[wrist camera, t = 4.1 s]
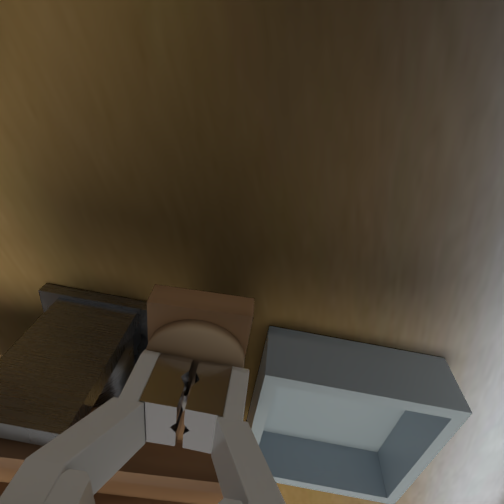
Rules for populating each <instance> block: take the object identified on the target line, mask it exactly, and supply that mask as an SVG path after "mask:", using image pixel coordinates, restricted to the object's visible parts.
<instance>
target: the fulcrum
mask: <svg viewBox="0 0 504 504" xmlns="http://www.w3.org/2000/svg"><path fill="white" fill-rule="evenodd" d="M38 291H39V295H40V299H41V303H42V307H43V311H44V313H43V314H42V315H41V316H40V317H39V319H38V320H37V321H36V322H35V323H34V324H33V325H32V326H31V327H30V328H29V329H28V330H27V331H26V332H25V333H24V334H23V335H22V336H21V337H20V338H19V339H18V341H17V342H16V343H15V344H14V345H13V346H12V347H11V348H10V349H9V350H8V351H7V352H6V353H5V354H4V355H3V356H2V357H1V358H0V438H4V439H9V440H15V441H20V442H25V443H31V444H36V445H41V446H44V445H45V444H47V443H48V442H50V441H51V440H53V439H54V438H55V437H57V436H58V435H60V434H61V433H63V432H64V431H65V430H67V429H68V428H70V427H71V426H73V425H74V424H75V423H77V422H78V421H80V420H81V419H83V418H84V417H85V416H87V415H88V414H89V413H90V411H91V409H92V407H100V406H101V405H103V404H104V403H105V402H107V401H108V400H110V399H111V398H113V397H117V398H119V396H120V394H121V392H122V390H123V388H124V386H125V384H126V382H127V380H128V378H129V376H130V374H131V372H132V370H133V368H134V366H135V364H136V362H137V361H138V359H139V357H140V355H141V353H142V352H143V351H144V350H146V348H147V345H148V327H147V302H145V301H140V300H134V299H129V298H123V297H118V296H113V295H107V294H102V293H96V292H91V291H85V290H80V289H74V288H69V287H64V286H58V285H53V284H47V283H46V284H45V285H44V286H43V287H42V288H41V289H40V290H38Z"/></svg>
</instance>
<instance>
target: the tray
mask: <svg viewBox="0 0 504 504" xmlns="http://www.w3.org/2000/svg"><path fill="white" fill-rule="evenodd" d="M471 414H472V412H471V410H470V408H469V406H468V404H467V402H466V400H465V398H464V396H463V394H462V392H461V390H460V388H459V386H458V384H457V382H456V380H455V378H454V376H453V374H452V372H451V370H450V368H449V366H448V364H447V362H446V360H445V358H442V357H436V356H431V355H426V354H420V353H415V352H409V351H404V350H398V349H393V348H387V347H382V346H377V345H371V344H366V343H360V342H355V341H349V340H344V339H339V338H333V337H328V336H322V335H317V334H311V333H306V332H300V331H295V330H290V329H284V328H279V327H273V326H269V329H268V333H267V337H266V342H265V346H264V350H263V354H262V358H261V362H260V366H259V371H258V375H257V379H256V383H255V387H254V391H253V396H252V400H251V404H250V408H249V412H248V416H247V420H246V422H248V423H249V425H250V427H251V430H252V432H253V434H254V436H255V438H256V440H257V443H258V445H259V447H260V449H261V451H262V454H263V456H264V458H265V460H266V462H267V464H268V467H269V469H270V471H271V473H272V475H273V477H274V480H275V482H276V483H281V484H286V485H292V486H297V487H302V488H308V489H313V490H318V491H323V492H329V493H334V494H339V495H345V496H350V497H355V498H361V499H366V500H371V501H376V502H382V503H387V504H395V503H396V502H397V501H398V499H399V498H400V497H401V496H402V495H403V494H404V492H405V491H406V490H407V489H408V488H409V487H410V485H411V484H412V483H413V482H414V481H415V480H416V478H417V477H418V476H419V475H420V474H421V473H422V471H423V470H424V469H425V468H426V467H427V466H428V464H429V463H430V462H431V461H432V460H433V459H434V457H435V456H436V455H437V454H438V453H439V452H440V450H441V449H442V448H443V447H444V446H445V445H446V443H447V442H448V441H449V440H450V439H451V438H452V436H453V435H454V434H455V433H456V432H457V431H458V429H459V428H460V427H461V426H462V425H463V424H464V422H465V421H466V420H467V419H468V418H469V417H470V415H471Z"/></svg>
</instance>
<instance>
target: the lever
mask: <svg viewBox="0 0 504 504" xmlns="http://www.w3.org/2000/svg"><path fill="white" fill-rule="evenodd" d="M253 314H254V298H248V297H241V296H234V295H227V294H219V293H212V292H205V291H198V290H191V289H184V288H177V287H170V286H163V285H156V284H155V286H154V288H153V290H152V292H151V294H150V296H149V298H148V300H147V327H148V345H147V348H146V350H149V351H154V352H159V353H164V354H169V355H174V356H178V357H183V358H188V359H192V360H194V368H193V372H192V377H193V382H192V386H193V385H194V384H195V378H196V371H197V368H198V364H199V362H200V360H202V361H208V362H213V363H219V364H225V365H231V366H232V367H233V366H234V367H240V368H244V361H245V356H246V351H247V346H248V341H249V336H250V331H251V326H252V321H253ZM231 372H232V371H231ZM97 408H98V407H92V409H91V411H90V413H91V412H93V411H94V410H95V409H97ZM90 413H89V414H90ZM184 416H185V411H183V417H182V425H181V428H180V432H179V435H178V438H177V441H176V445H175V446H170V445H164V444H158V443H151V442H145V444H144V445H143V446H142V447H141V448H140V449H139V450H138V451H137V452H136V453H135V454H134V455H133V456H132V457H131V458H130V459H129V460H128V461H127V462H126V463H125V464H124V465H123V466H122V467H121V468H120V469H119V470H118V471H117V472H116V473H115V474H114V475H113V476H112V477H111V478H110V479H109V480H108V481H107V482H106V483H105V484H104V485H103V486H102V487H101V488H100V489H99V490H98V491H97V492H96V493H95V494H94V500H95V504H218V503H219V502H220V501H221V500H222V499H223V495H222V492H221V488H220V485H219V481H218V478H217V474H216V471H215V468H214V464H213V461H212V457H211V454H209V453H205V452H200V451H195V450H191V449H186V448H182V447H183V433H184V429H185V425H184ZM41 447H43V446H41V445H36V444H31V443H25V442H20V441H15V440H9V439H4V438H0V496H1V495H2V493H3V492H4V490H5V489H6V487H7V486H8V484H9V483H10V481H11V480H12V479H13V477H14V476H15V474H16V473H17V471H18V470H19V468H20V467H21V465H22V464H23V462H24V461H25V459H26V458H27V457H28V456H30V455H31V454H33V453H34V452H35V451H37V450H38V449H40V448H41Z"/></svg>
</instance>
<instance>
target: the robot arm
mask: <svg viewBox="0 0 504 504" xmlns="http://www.w3.org/2000/svg"><path fill="white" fill-rule="evenodd" d="M193 368H194V360H192V359H188V358H183V357H178V356H174V355H169V354H164V353H159V352H154V351H149V350H144V351H143V352H142V353H141V355H140V357H139V359H138V361H137V362H136V364H135V366H134V368H133V370H132V372H131V374H130V376H129V378H128V380H127V382H126V384H125V386H124V388H123V390H122V392H121V394H120V396H119V398H117V397H113V398H111V399H110V400H108V401H107V402H105V403H104V404H103V405H101V406H100V407H98V408H97V409H95V410H94V411H93V412H91V413H90V414H88V415H87V416H85V417H84V418H83V419H81V420H80V421H78V422H77V423H75V424H74V425H73V426H71V427H70V428H68V429H67V430H65V431H64V432H63V433H61V434H60V435H58V436H57V437H55V438H54V439H53V440H51V441H50V442H48V443H47V444H45V445H44V446H43V447H41V448H40V449H38V450H37V451H35V452H34V453H33V454H31V455H30V456H28V457H27V458H26V459H25V461H24V462H23V464H22V465H21V467H20V468H19V470H18V471H17V473H16V474H15V476H14V477H13V479H12V480H11V481H10V483H9V484H8V486H7V487H6V489H5V490H4V492H3V493H2V495H1V496H0V504H95V500H94V494H95V493H96V492H97V491H98V490H99V489H100V488H101V487H102V486H103V485H104V484H105V483H106V482H107V481H108V480H109V479H110V478H111V477H112V476H113V475H114V474H115V473H116V472H117V471H118V470H119V469H120V468H121V467H122V466H123V465H124V464H125V463H126V462H127V461H128V460H129V459H130V458H131V457H132V456H133V455H134V454H135V453H136V452H137V451H138V450H139V449H140V448H141V447H142V446H143V445H144V444H145V442H151V443H158V444H164V445H170V446H175V445H176V441H177V438H178V435H179V432H180V428H181V425H182V417H183V411H185V416H184V425H185V429H184V433H183V447H182V448H186V449H191V450H195V451H200V452H205V453H209V454H211V457H212V461H213V464H214V468H215V471H216V474H217V478H218V481H219V485H220V488H221V492H222V495H223V499H222V500H221V501H220V502H219V503H218V504H285V501H284V499H283V497H282V495H281V493H280V490H279V488H278V486H277V484H276V482H275V480H274V477H273V475H272V473H271V471H270V469H269V467H268V464H267V462H266V460H265V458H264V456H263V454H262V451H261V449H260V447H259V445H258V443H257V440H256V438H255V436H254V434H253V432H252V430H251V427H250V425H249V423H248V422H245V421H243V417H244V410H245V402H246V395H247V387H248V379H249V369H245V368H240V367H234V366H233V367H232V366H231V365H225V364H219V363H213V362H208V361H202V360H200V362H199V364H198V368H197V371H196V378H195V384H194V385H193V386H192V382H193V377H192V372H193ZM231 371H232V372H231Z"/></svg>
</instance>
